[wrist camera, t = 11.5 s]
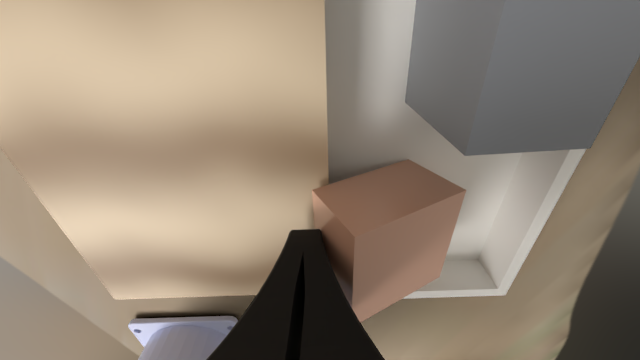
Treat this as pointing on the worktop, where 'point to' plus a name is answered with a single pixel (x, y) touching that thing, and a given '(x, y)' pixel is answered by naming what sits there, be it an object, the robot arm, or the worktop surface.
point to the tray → (431, 150)
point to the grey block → (520, 70)
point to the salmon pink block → (386, 232)
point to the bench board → (169, 133)
